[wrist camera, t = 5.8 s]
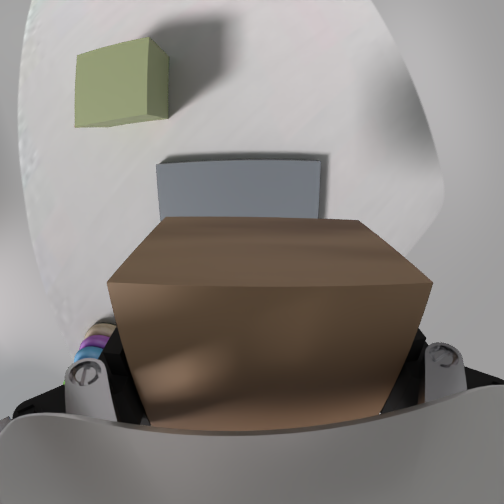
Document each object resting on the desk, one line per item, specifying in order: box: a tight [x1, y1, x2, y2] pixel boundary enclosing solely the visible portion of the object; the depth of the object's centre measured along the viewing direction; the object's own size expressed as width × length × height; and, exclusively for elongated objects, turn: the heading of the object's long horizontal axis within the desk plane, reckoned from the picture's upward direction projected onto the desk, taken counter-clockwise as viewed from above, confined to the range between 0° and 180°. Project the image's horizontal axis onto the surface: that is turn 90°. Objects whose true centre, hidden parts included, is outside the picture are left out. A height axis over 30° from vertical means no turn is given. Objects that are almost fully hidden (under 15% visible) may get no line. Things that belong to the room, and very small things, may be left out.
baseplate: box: [156, 159, 321, 221], centre depth 26 cm, size 14×14×1 cm
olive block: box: [75, 37, 169, 128], centre depth 18 cm, size 6×6×6 cm
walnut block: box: [107, 217, 433, 431], centre depth 9 cm, size 7×7×5 cm
